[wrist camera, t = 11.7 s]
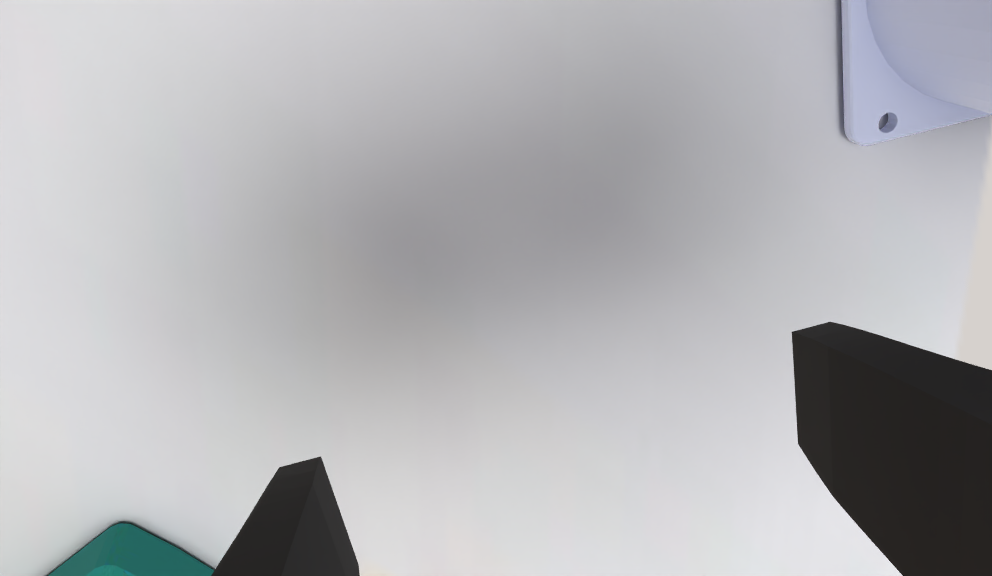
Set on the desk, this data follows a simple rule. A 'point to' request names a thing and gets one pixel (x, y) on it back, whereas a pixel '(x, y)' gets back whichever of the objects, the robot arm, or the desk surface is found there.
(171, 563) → the digital multimeter
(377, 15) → the desk surface
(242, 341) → the desk surface
